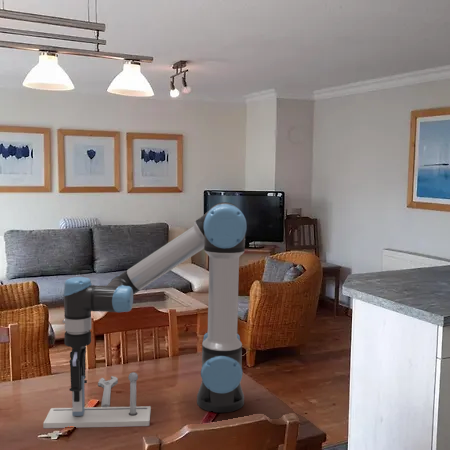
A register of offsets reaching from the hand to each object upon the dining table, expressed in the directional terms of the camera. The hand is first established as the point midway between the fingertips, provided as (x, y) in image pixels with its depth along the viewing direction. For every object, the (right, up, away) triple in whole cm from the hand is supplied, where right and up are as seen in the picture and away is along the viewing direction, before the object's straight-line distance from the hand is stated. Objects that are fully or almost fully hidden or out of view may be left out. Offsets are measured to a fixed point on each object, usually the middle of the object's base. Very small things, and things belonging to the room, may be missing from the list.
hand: (78, 408), depth 163 cm
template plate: (+6, -4, +1) cm, 7 cm away
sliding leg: (0, -2, 0) cm, 2 cm away
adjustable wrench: (+4, -2, +19) cm, 20 cm away
